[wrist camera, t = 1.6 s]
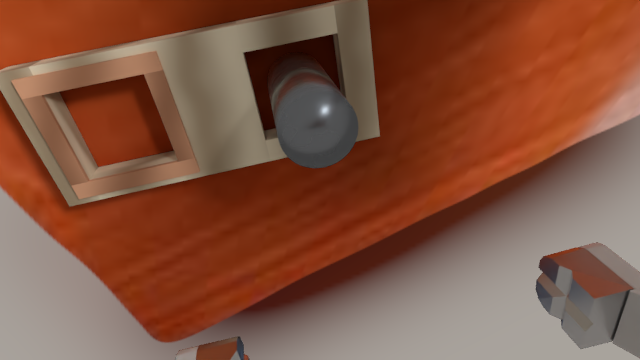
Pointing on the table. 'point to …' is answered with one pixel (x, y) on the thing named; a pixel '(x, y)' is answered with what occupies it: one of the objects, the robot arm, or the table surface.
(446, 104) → the table surface
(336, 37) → the beige flat frame
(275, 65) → the steel peg
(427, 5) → the table surface
